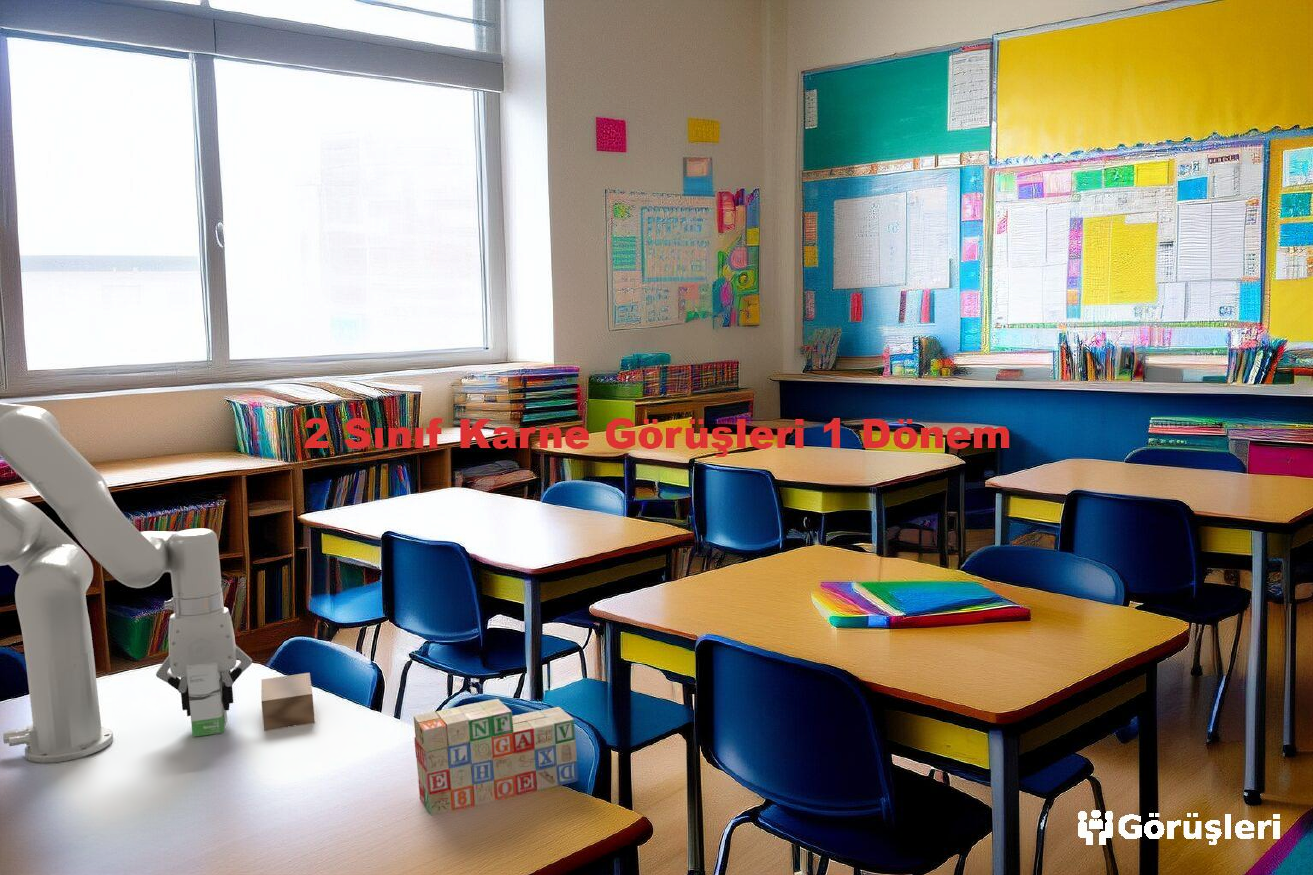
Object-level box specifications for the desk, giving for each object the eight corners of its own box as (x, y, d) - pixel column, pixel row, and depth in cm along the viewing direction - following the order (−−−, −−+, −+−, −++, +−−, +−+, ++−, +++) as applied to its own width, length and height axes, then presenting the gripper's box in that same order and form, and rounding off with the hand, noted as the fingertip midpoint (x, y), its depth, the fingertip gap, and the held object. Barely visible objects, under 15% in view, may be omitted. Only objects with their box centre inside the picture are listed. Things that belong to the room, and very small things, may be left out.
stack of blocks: (563, 766, 164) (558, 685, 162) (578, 782, 158) (574, 698, 157) (418, 799, 155) (412, 713, 153) (429, 817, 149) (423, 728, 148)
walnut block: (264, 730, 183) (261, 701, 183) (263, 707, 195) (261, 679, 194) (314, 722, 186) (312, 693, 185) (311, 699, 197) (309, 672, 197)
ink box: (223, 733, 183) (217, 663, 181) (191, 738, 181) (184, 667, 180) (228, 715, 191) (221, 648, 190) (196, 720, 190) (190, 652, 188)
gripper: (139, 616, 177) (150, 726, 180) (253, 603, 183) (262, 709, 185) (144, 605, 184) (154, 711, 187) (253, 592, 190) (262, 695, 192)
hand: (208, 709), depth 186 cm, fingers closed on ink box, 5 cm apart
